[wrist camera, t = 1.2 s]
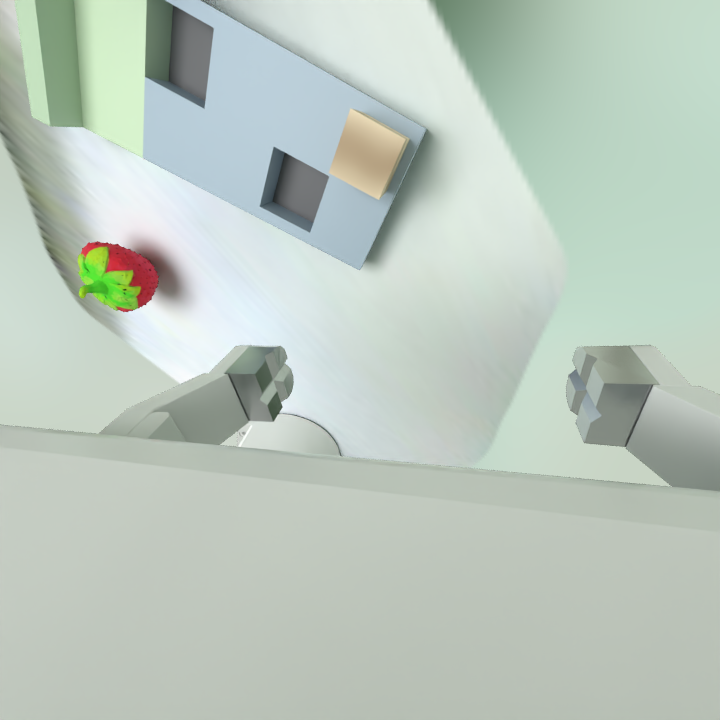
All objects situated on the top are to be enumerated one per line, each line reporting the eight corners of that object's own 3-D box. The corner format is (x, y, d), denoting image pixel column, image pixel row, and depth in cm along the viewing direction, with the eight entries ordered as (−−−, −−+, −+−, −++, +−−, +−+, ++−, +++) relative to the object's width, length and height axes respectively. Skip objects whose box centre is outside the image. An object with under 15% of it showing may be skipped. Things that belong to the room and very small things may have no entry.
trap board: (365, 260, 34) (352, 281, 29) (95, 119, 31) (31, 116, 26) (427, 129, 27) (424, 128, 22) (85, -66, 24) (-3, -115, 19)
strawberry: (149, 221, 36) (64, 246, 28) (187, 285, 40) (122, 323, 31) (112, 236, 38) (23, 264, 30) (152, 296, 41) (82, 335, 33)
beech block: (386, 192, 27) (378, 200, 24) (342, 168, 27) (328, 172, 24) (410, 138, 25) (405, 139, 22) (362, 111, 24) (350, 108, 21)
